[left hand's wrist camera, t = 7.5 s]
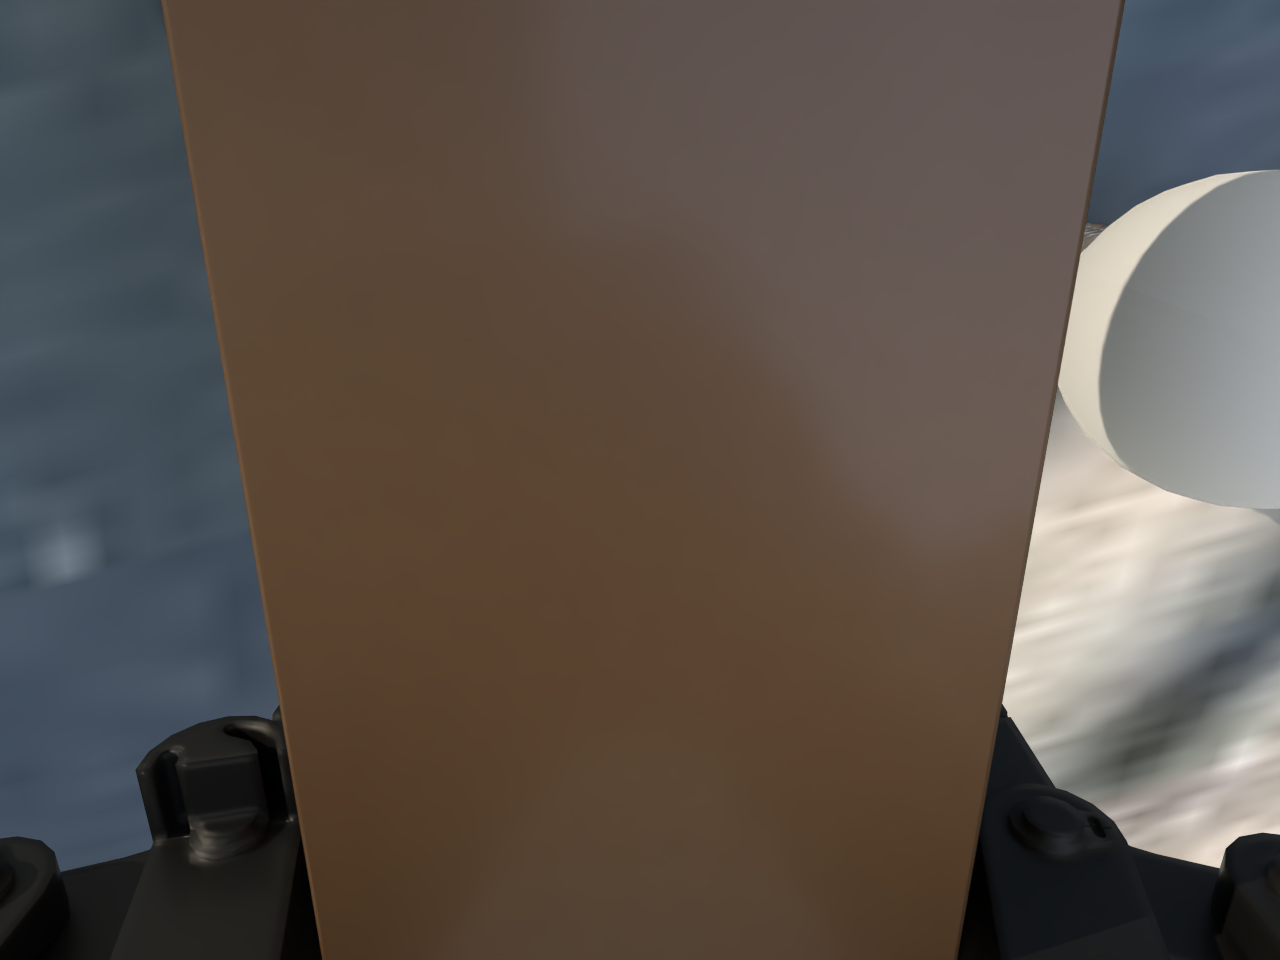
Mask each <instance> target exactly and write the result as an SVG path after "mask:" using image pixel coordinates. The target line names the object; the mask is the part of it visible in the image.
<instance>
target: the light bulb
mask: <svg viewBox="0 0 1280 960" xmlns="http://www.w3.org/2000/svg"><path fill="white" fill-rule="evenodd" d="M1058 386H1059V389H1060V392H1061V394H1062V397H1063V399H1064V401H1065V403H1066V405H1067V407H1068V408H1069V410H1070V412H1071V414H1072V415H1073V417H1074V418H1075V420H1076V421H1077V423H1078V424H1079V425H1080V427H1081V428H1082V430H1083V431H1084V433H1085V434H1086V435H1087V436H1088V437H1089V438H1090V439H1091V440H1092V441H1093V442H1094V443H1096V444H1097V445H1098V446H1099V447H1100V448H1101V449H1102V450H1103V451H1104V452H1105V453H1107V454H1108V455H1109V456H1110V457H1111V458H1112V459H1113V460H1114V461H1115V462H1116V463H1117V464H1119V465H1120V466H1121V467H1123V468H1125V469H1126V470H1128V471H1130V472H1132V473H1134V474H1135V475H1137V476H1139V477H1141V478H1143V479H1144V480H1146V481H1148V482H1150V483H1152V484H1154V485H1156V486H1158V487H1160V488H1162V489H1164V490H1166V491H1168V492H1171V493H1175V494H1178V495H1182V496H1185V497H1188V498H1192V499H1195V500H1199V501H1203V502H1207V503H1211V504H1215V505H1219V506H1228V507H1239V508H1254V509H1280V170H1265V171H1250V172H1240V173H1230V174H1221V175H1215V176H1211V177H1208V178H1205V179H1201V180H1198V181H1195V182H1191V183H1188V184H1185V185H1182V186H1179V187H1176V188H1173V189H1170V190H1167V191H1164V192H1162V193H1160V194H1158V195H1156V196H1154V197H1152V198H1150V199H1148V200H1146V201H1144V202H1142V203H1140V204H1138V205H1136V206H1135V207H1134V208H1132V209H1131V210H1130V211H1128V212H1127V213H1126V214H1124V215H1123V216H1122V217H1120V218H1119V219H1118V220H1116V221H1115V222H1113V223H1112V224H1111V225H1110V226H1108V225H1103V224H1092V223H1086V226H1085V232H1084V238H1083V244H1082V249H1081V255H1080V261H1079V266H1078V272H1077V278H1076V283H1075V289H1074V295H1073V301H1072V306H1071V312H1070V318H1069V323H1068V329H1067V335H1066V341H1065V346H1064V352H1063V358H1062V363H1061V369H1060V375H1059V380H1058Z"/></svg>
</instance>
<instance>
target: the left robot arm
mask: <svg viewBox="0 0 1280 960" xmlns="http://www.w3.org/2000/svg"><path fill="white" fill-rule="evenodd" d="M136 774H137V778H138V782H139V786H140V790H141V794H142V798H143V802H144V806H145V810H146V814H147V818H148V822H149V826H150V830H151V834H152V838H153V845H152V847H151V849H150V850H148V851H144V852H141V853H138V854H134V855H131V856H128V857H124V858H120V859H116V860H111V861H107V862H103V863H98V864H94V865H89V866H85V867H81V868H76V869H72V870H68V871H63V872H60V869H59V866H58V862H57V859H56V856H55V852H54V851H52V850H51V849H50V848H49V847H48V846H47V845H46V844H44V843H43V842H42V841H40V840H35V839H29V838H24V837H10V838H2V839H0V960H322V954H321V948H320V942H319V936H318V930H317V925H316V919H315V913H314V907H313V901H312V895H311V889H310V883H309V877H308V871H307V865H306V859H305V853H304V847H303V841H302V835H301V830H300V824H299V818H298V812H297V806H296V800H295V794H294V788H293V782H292V776H291V770H290V764H289V758H288V752H287V746H286V740H285V735H284V729H283V723H282V717H281V711H280V705H279V706H278V707H277V709H276V710H275V712H274V714H273V719H272V720H268V719H265V718H261V717H257V716H228V717H224V718H219V719H215V720H210V721H206V722H202V723H198V724H196V725H194V726H192V727H189V728H187V729H185V730H182V731H180V732H178V733H176V734H173V735H171V736H170V737H169V738H167V739H166V740H164V741H163V742H162V743H160V744H159V745H157V746H156V747H155V748H153V749H152V750H151V751H149V752H148V754H147V755H146V756H145V758H144V759H143V760H142V762H141V763H140V764H139V766H138V767H137V769H136ZM957 960H1280V835H1277V834H1269V833H1258V834H1252V835H1247V836H1241V837H1238V838H1237V839H1236V840H1235V841H1234V842H1233V843H1232V844H1230V845H1229V846H1228V847H1227V848H1226V850H1225V853H1224V857H1223V860H1222V863H1221V867H1220V868H1215V867H1211V866H1206V865H1202V864H1198V863H1193V862H1189V861H1185V860H1180V859H1176V858H1171V857H1167V856H1163V855H1158V854H1154V853H1151V852H1148V851H1144V850H1141V849H1138V848H1134V847H1131V846H1129V845H1128V843H1127V841H1126V839H1125V838H1124V836H1123V835H1122V833H1121V832H1120V830H1119V829H1118V827H1117V825H1116V824H1115V822H1114V821H1113V820H1112V819H1110V818H1109V817H1108V816H1107V815H1105V814H1104V813H1103V812H1102V811H1101V810H1099V809H1098V808H1097V807H1096V806H1094V805H1093V804H1092V803H1090V802H1088V801H1086V800H1084V799H1082V798H1080V797H1077V796H1075V795H1073V794H1071V793H1069V792H1067V791H1065V790H1061V789H1057V788H1055V786H1054V785H1053V783H1052V781H1051V780H1050V778H1049V777H1048V775H1047V774H1046V772H1045V770H1044V769H1043V767H1042V766H1041V764H1040V763H1039V761H1038V759H1037V758H1036V756H1035V755H1034V753H1033V752H1032V750H1031V748H1030V747H1029V745H1028V744H1027V742H1026V741H1025V739H1024V737H1023V736H1022V734H1021V733H1020V731H1019V730H1018V728H1017V726H1016V725H1015V723H1014V722H1013V720H1012V719H1011V717H1008V716H1007V711H1006V709H1005V708H1004V706H1003V704H1002V706H1001V711H1000V717H999V723H998V729H997V734H996V740H995V746H994V751H993V757H992V763H991V769H990V774H989V780H988V786H987V791H986V797H985V803H984V808H983V814H982V820H981V826H980V831H979V837H978V843H977V848H976V854H975V860H974V866H973V871H972V877H971V883H970V888H969V894H968V900H967V905H966V911H965V917H964V923H963V928H962V934H961V940H960V945H959V951H958V957H957Z"/></svg>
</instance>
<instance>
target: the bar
mask: <svg viewBox="0 0 1280 960" xmlns="http://www.w3.org/2000/svg"><path fill="white" fill-rule="evenodd" d="M161 4H162V10H163V16H164V22H165V28H166V34H167V40H168V46H169V52H170V58H171V64H172V70H173V76H174V81H175V87H176V93H177V99H178V105H179V111H180V117H181V123H182V129H183V135H184V141H185V147H186V153H187V159H188V165H189V171H190V176H191V182H192V188H193V194H194V200H195V206H196V212H197V218H198V224H199V230H200V236H201V242H202V248H203V254H204V260H205V266H206V271H207V277H208V283H209V289H210V295H211V301H212V307H213V313H214V319H215V325H216V331H217V337H218V343H219V349H220V355H221V361H222V366H223V372H224V378H225V384H226V390H227V396H228V402H229V408H230V414H231V420H232V426H233V432H234V438H235V444H236V450H237V456H238V461H239V467H240V473H241V479H242V485H243V491H244V497H245V503H246V509H247V515H248V521H249V527H250V533H251V539H252V545H253V551H254V556H255V562H256V568H257V574H258V580H259V586H260V592H261V598H262V604H263V610H264V616H265V622H266V628H267V634H268V640H269V645H270V651H271V657H272V663H273V669H274V675H275V681H276V687H277V693H278V699H279V705H280V711H281V717H282V723H283V729H284V735H285V740H286V746H287V752H288V758H289V764H290V770H291V776H292V782H293V788H294V794H295V800H296V806H297V812H298V818H299V824H300V830H301V835H302V841H303V847H304V853H305V859H306V865H307V871H308V877H309V883H310V889H311V895H312V901H313V907H314V913H315V919H316V925H317V930H318V936H319V942H320V948H321V954H322V960H957V957H958V951H959V945H960V940H961V934H962V928H963V923H964V917H965V911H966V905H967V900H968V894H969V888H970V883H971V877H972V871H973V866H974V860H975V854H976V848H977V843H978V837H979V831H980V826H981V820H982V814H983V808H984V803H985V797H986V791H987V786H988V780H989V774H990V769H991V763H992V757H993V751H994V746H995V740H996V734H997V729H998V723H999V717H1000V711H1001V706H1002V700H1003V694H1004V689H1005V683H1006V677H1007V672H1008V666H1009V660H1010V654H1011V649H1012V643H1013V637H1014V632H1015V626H1016V620H1017V614H1018V609H1019V603H1020V597H1021V592H1022V586H1023V580H1024V575H1025V569H1026V563H1027V557H1028V552H1029V546H1030V540H1031V535H1032V529H1033V523H1034V517H1035V512H1036V506H1037V500H1038V495H1039V489H1040V483H1041V477H1042V472H1043V466H1044V460H1045V455H1046V449H1047V443H1048V438H1049V432H1050V426H1051V420H1052V415H1053V409H1054V403H1055V398H1056V392H1057V386H1058V380H1059V375H1060V369H1061V363H1062V358H1063V352H1064V346H1065V341H1066V335H1067V329H1068V323H1069V318H1070V312H1071V306H1072V301H1073V295H1074V289H1075V283H1076V278H1077V272H1078V266H1079V261H1080V255H1081V249H1082V244H1083V238H1084V232H1085V226H1086V221H1087V215H1088V209H1089V204H1090V198H1091V192H1092V186H1093V181H1094V175H1095V169H1096V164H1097V158H1098V152H1099V147H1100V141H1101V135H1102V129H1103V124H1104V118H1105V112H1106V107H1107V101H1108V95H1109V89H1110V84H1111V78H1112V72H1113V67H1114V61H1115V55H1116V50H1117V44H1118V38H1119V32H1120V27H1121V21H1122V15H1123V10H1124V4H1125V0H161Z"/></svg>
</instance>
